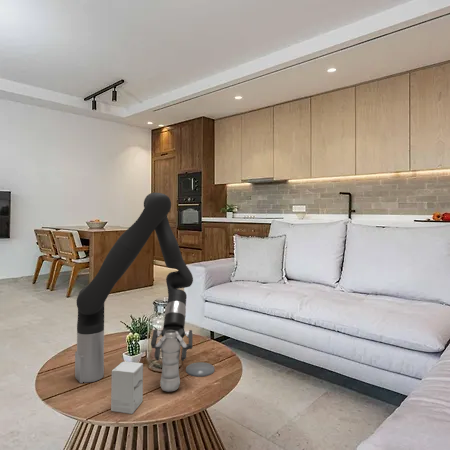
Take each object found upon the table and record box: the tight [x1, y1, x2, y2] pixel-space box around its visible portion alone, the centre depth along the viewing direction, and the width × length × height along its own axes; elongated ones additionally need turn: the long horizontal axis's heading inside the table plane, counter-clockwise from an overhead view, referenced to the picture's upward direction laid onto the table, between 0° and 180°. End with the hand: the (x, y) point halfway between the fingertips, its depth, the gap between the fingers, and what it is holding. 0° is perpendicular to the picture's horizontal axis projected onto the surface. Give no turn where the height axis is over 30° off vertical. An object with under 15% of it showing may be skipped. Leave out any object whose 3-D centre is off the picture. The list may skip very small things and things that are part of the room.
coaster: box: [185, 361, 215, 378], centre depth 137 cm, size 11×11×1 cm
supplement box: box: [110, 361, 144, 415], centre depth 111 cm, size 7×7×13 cm
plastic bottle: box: [159, 330, 182, 393], centre depth 121 cm, size 6×7×20 cm
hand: (170, 359), depth 120 cm, fingers open, 8 cm apart
